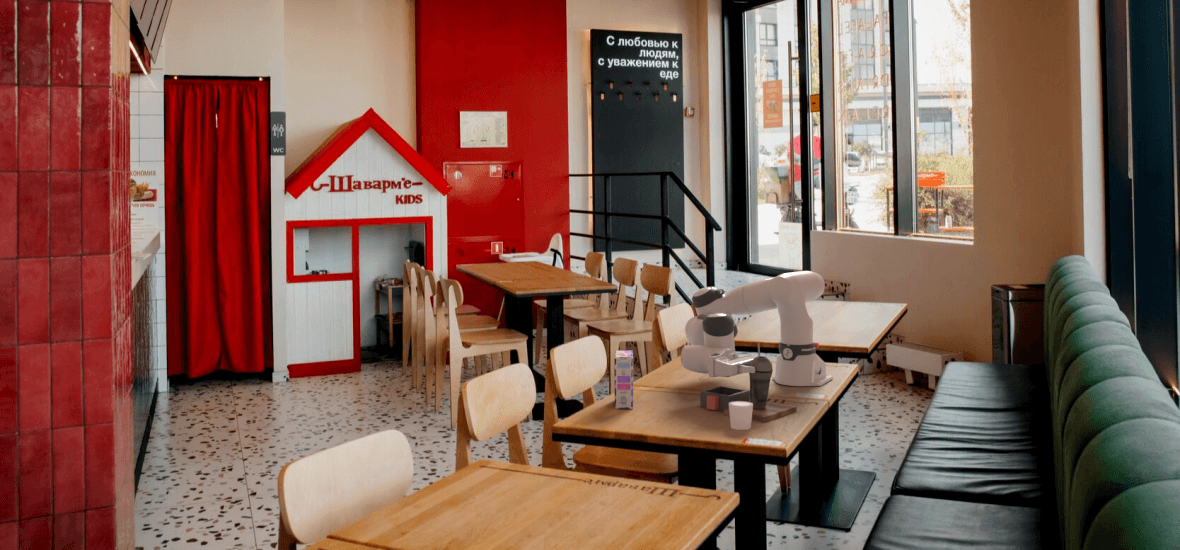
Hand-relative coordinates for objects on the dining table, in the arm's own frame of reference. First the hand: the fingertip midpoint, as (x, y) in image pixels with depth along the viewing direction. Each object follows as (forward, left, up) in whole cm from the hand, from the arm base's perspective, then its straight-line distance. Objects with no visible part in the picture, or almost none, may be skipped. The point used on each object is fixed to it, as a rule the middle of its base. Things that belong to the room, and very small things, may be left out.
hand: (763, 368), depth 272 cm
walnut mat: (0, -1, -14) cm, 14 cm away
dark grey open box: (0, -14, -14) cm, 20 cm away
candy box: (+18, -40, -14) cm, 46 cm away
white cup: (+18, +4, -14) cm, 23 cm away
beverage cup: (0, -2, -12) cm, 12 cm away
